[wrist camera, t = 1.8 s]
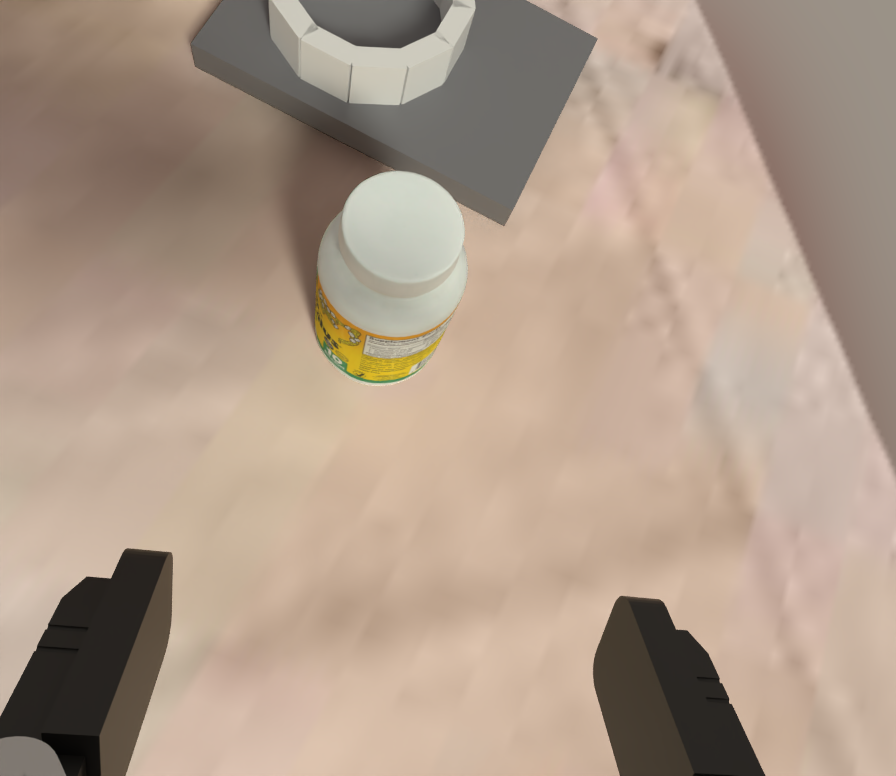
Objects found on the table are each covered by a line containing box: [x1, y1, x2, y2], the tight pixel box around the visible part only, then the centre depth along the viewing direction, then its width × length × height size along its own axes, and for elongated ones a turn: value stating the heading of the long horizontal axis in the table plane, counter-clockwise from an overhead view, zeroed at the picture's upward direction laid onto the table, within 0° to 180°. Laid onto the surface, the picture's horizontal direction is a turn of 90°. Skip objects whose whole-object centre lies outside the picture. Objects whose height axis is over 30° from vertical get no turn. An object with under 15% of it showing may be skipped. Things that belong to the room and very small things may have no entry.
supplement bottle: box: [315, 171, 468, 386], centre depth 29 cm, size 5×5×10 cm
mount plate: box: [191, 0, 597, 226], centre depth 35 cm, size 16×11×4 cm
